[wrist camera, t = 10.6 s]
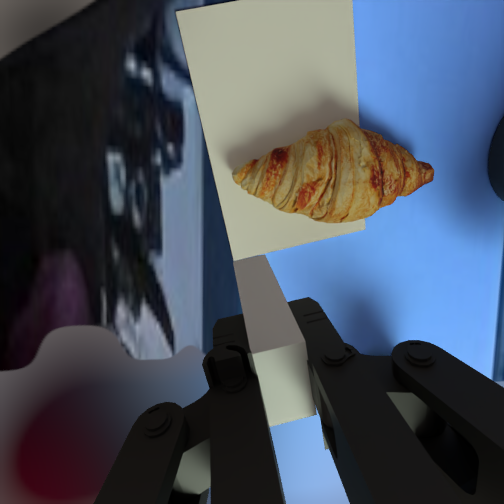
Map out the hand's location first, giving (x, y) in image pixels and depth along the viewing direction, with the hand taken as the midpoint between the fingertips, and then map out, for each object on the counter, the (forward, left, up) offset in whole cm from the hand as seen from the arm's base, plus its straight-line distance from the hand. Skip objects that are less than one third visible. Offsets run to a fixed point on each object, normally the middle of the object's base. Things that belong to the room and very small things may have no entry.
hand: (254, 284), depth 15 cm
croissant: (-12, -1, -21) cm, 24 cm away
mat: (-8, -5, -21) cm, 23 cm away
